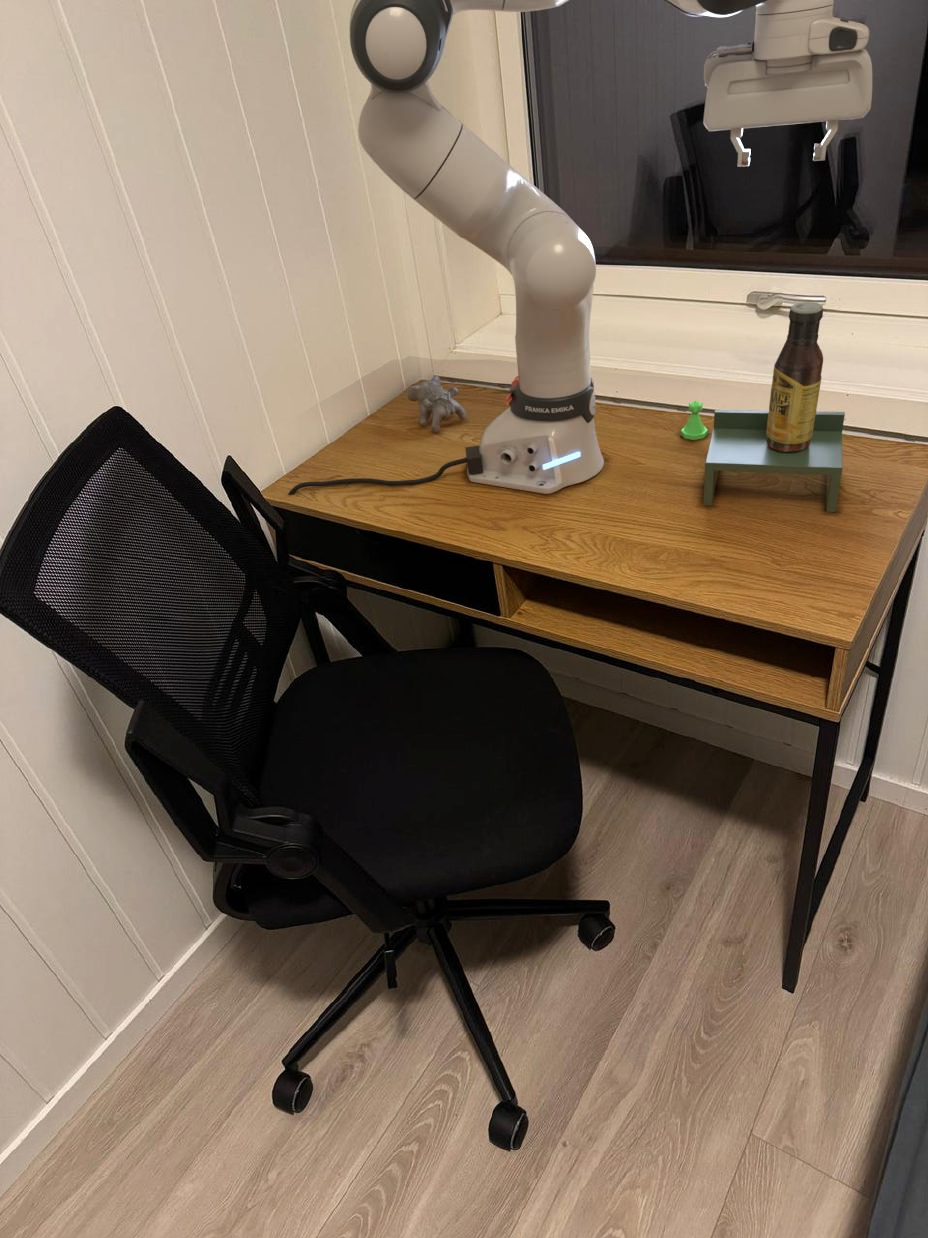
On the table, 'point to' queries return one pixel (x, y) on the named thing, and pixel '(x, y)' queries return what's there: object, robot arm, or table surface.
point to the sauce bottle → (796, 382)
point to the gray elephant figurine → (435, 402)
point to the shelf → (773, 450)
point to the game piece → (694, 423)
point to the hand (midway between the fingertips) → (780, 162)
